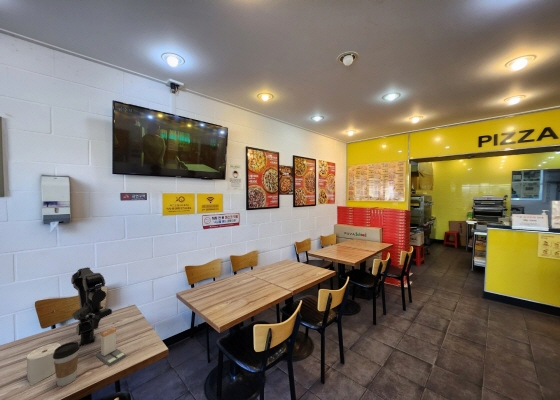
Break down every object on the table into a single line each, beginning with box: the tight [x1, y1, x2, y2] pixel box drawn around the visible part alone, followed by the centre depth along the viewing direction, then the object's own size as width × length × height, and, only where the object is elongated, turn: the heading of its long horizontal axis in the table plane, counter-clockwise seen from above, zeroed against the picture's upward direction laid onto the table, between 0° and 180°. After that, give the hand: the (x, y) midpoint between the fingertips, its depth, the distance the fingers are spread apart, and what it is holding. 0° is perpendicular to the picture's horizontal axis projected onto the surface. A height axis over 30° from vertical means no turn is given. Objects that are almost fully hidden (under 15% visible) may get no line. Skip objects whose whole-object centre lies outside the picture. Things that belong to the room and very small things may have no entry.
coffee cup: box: [53, 341, 81, 387], centre depth 95 cm, size 8×8×15 cm
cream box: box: [100, 326, 117, 356], centre depth 110 cm, size 3×5×11 cm, turn 151°
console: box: [95, 348, 127, 367], centre depth 109 cm, size 14×7×2 cm, turn 61°
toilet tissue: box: [26, 343, 62, 386], centre depth 100 cm, size 11×12×10 cm
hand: (94, 329), depth 113 cm, fingers closed
